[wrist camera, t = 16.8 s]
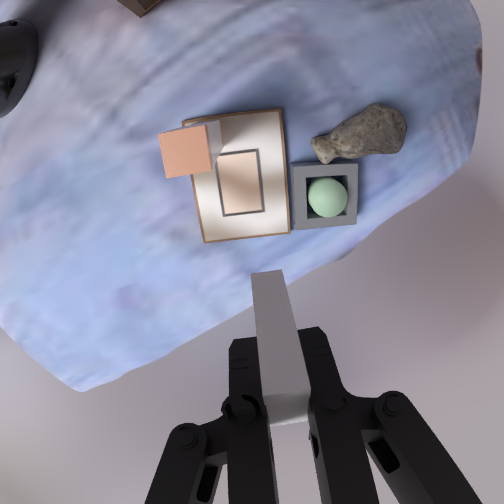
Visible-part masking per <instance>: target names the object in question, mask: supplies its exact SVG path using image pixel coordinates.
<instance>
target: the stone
mask: <svg viewBox="0 0 504 504" xmlns="http://www.w3.org/2000/svg"><path fill="white" fill-rule="evenodd" d="M406 131H407V125H406V122H405V119H404V117H403V115H402V114H401V112H399V111H398V110H396V109H393V108H390V107H387V106H385V105H383V104H381V103H373V104H371V105H369V106H368V107H367V108H366V109H365V110H364V111H362V112H361V113H359V114H357V115H355V116H353V117H350V118H349V119H347V120H346V121H344V122H342V123H341V124H339V125H338V126H337V127H335V128H334V129H333V131H332V132H331V133H330V134H328V135H325V136H316V137H313V138H312V139H311V146H312V149H313V151H314V152H315V154H316V156H317V157H318V159H319V160H320V161H321V162H322V163H324V164H328V163H329V162H331V161H332V160H333V159H334V158H336V157H343V158H349V159H353V158H359V157H362V156H366V155H370V154H394V153H397V152H399V151H400V149H401V148H402V146H403V143H404V139H405V133H406Z"/></svg>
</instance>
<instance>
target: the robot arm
mask: <svg viewBox="0 0 504 504" xmlns="http://www.w3.org/2000/svg"><path fill="white" fill-rule="evenodd" d="M37 52H38V36H37V32H36V29H35V27H34V26H33V25H32V24H31V23H30V22H27V21H22V20H10V21H6V22H2V23H0V118H2V117H4V116H5V115H7V114H8V113H9V112H10V111H11V110H12V109H13V108H14V107H15V105H16V104H17V103H18V101H19V100H20V98H21V97H22V95H23V93H24V91H25V89H26V87H27V85H28V83H29V81H30V78H31V76H32V73H33V70H34V66H35V62H36V58H37ZM251 282H252V292H253V303H254V312H255V322H256V334H257V337H249V338H241V339H234V340H233V342H232V344H231V346H230V348H229V396H228V397H227V398H226V399H225V401H224V402H223V404H222V408H221V411H222V413H223V415H222V416H221V417H220V418H218V419H216V420H214V421H211V422H208V423H205V424H202V425H199V426H198V425H196V424H194V423H184V424H180V425H178V426H177V427H175V428H174V429H173V430H172V432H171V433H170V435H169V438H168V440H167V443H166V446H165V448H164V451H163V454H162V457H161V459H160V462H159V465H158V467H157V470H156V473H155V476H154V479H153V481H152V484H151V487H150V490H149V492H148V495H147V498H146V501H145V504H212V503H213V499H214V496H215V492H216V488H217V485H218V481H219V478H220V474H221V470H222V466H223V465H224V464H227V470H228V497H229V504H279V498H278V490H277V481H276V472H275V463H274V455H273V446H272V439H271V432H270V426H275V425H283V424H290V423H296V422H302V421H307V420H309V426H310V430H309V440H310V439H311V444H312V450H313V455H314V461H315V467H316V473H317V478H318V484H319V490H320V496H321V502H322V504H379V500H378V495H377V491H376V487H375V483H374V479H373V475H372V471H371V467H370V463H369V459H368V456H367V453H366V450H367V451H368V453H369V454H370V456H371V458H372V459H373V461H374V463H375V464H376V466H377V468H378V469H379V471H380V472H381V474H382V476H383V477H384V479H385V481H386V482H387V484H388V485H389V487H390V489H391V490H392V492H393V493H394V495H395V497H396V498H397V500H398V502H399V503H400V504H482V502H481V501H480V499H479V498H478V496H477V495H476V493H475V492H474V490H473V489H472V487H471V486H470V484H469V483H468V481H467V480H466V478H465V477H464V475H463V474H462V472H461V471H460V470H459V468H458V467H457V465H456V464H455V462H454V461H453V459H452V458H451V457H450V455H449V454H448V452H447V451H446V449H445V448H444V446H443V445H442V444H441V442H440V441H439V440H438V438H437V437H436V435H435V434H434V433H433V432H432V430H431V428H430V427H429V426H428V425H427V423H426V422H425V421H424V419H423V418H422V417H421V415H420V414H419V412H418V411H417V410H416V408H415V407H414V406H413V404H412V403H411V402H410V400H409V399H408V398H407V397H406V396H405V395H404V394H403V393H401V392H398V391H388V392H385V393H383V394H382V395H381V396H379V397H378V398H365V397H356V396H354V395H352V394H350V393H349V392H347V391H346V389H345V388H344V387H343V385H342V382H341V379H340V376H339V373H338V369H337V366H336V363H335V360H334V357H333V355H332V351H331V348H330V346H329V342H328V339H327V336H326V334H325V333H324V332H323V331H322V330H321V329H320V328H319V327H312V328H306V329H301V330H297V328H296V324H295V320H294V316H293V312H292V309H291V304H290V300H289V296H288V292H287V288H286V284H285V280H284V277H283V273H282V270H275V271H268V272H261V273H253V274H251Z"/></svg>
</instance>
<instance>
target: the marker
mask: <svg viewBox="0 0 504 504" xmlns="http://www.w3.org/2000/svg"><path fill="white" fill-rule="evenodd" d="M158 136H159V142H160V147H161V153H162V158H163V164H164V169H165V174H166V178H171V177H177V176H183V175H189V174H195V173H201V172H208V171H212V169H213V167H214V165H215V163H216V161H217V159H218V157H219V155H220V153H221V151H222V149H223V147H224V144H223V137H222V129H221V122H220V120H215V121H208V122H202V123H196V124H191V125H188V126H184V127H180V128H177V129H173V130H170V131H167V132H163V133H160V134H158Z"/></svg>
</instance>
